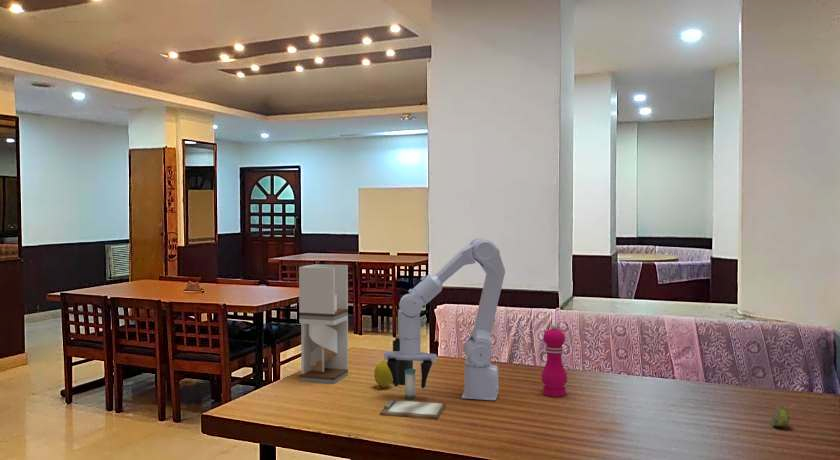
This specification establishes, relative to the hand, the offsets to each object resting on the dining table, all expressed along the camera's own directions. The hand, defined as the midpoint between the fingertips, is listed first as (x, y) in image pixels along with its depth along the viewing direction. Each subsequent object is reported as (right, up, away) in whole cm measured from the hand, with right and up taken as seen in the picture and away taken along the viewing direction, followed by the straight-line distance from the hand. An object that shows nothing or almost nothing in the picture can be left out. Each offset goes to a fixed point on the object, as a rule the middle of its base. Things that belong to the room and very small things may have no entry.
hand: (409, 386), depth 172 cm
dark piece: (-2, -3, +16) cm, 16 cm away
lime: (+89, -4, -23) cm, 92 cm away
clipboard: (+1, -4, -11) cm, 12 cm away
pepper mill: (+41, -3, +4) cm, 41 cm away
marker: (0, -3, 0) cm, 3 cm away
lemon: (-8, -3, +10) cm, 13 cm away
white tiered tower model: (-27, -3, +21) cm, 34 cm away
